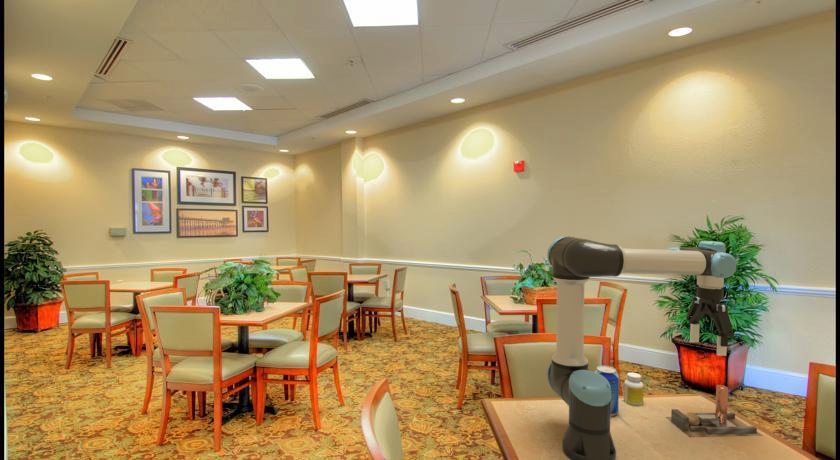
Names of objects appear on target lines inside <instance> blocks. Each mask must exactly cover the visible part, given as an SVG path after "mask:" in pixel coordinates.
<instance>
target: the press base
mask: <svg viewBox="0 0 840 460" xmlns="http://www.w3.org/2000/svg"><path fill="white" fill-rule="evenodd" d="M693 413H694V414H696V415H715V412H693ZM665 419H667V420H668V421H669V422H670V423H672V424H673V425H675V426H676V427H677V428H678V429H679V430H681V432H683V433H684V434H685V435H686V436H688V437H689V438H708V437H709V438H710V437H711V438H714V437H715V438H719V437H761V436H762V437H763V436H764V435H763V434H761V433H760V432H758V428H757V427H756V426H754V425H750V426H749V425H748V424H746V423H745V422H743V421H741V420H740V419H738V418H736V413H734V412H727V420H728V421H729V422H731V423H732V424H734V425H735V426H736V427H713V426H712V425H711V424H701V423H700V422H699V425H698V426H689V418H688V417H687V416H686V415H685V414H684V412H681V411H680V410H679V409H678V408H677V409H673V408H671V416H665Z"/></svg>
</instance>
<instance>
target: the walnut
mask: <svg viewBox="0 0 840 460" xmlns="http://www.w3.org/2000/svg"><path fill="white" fill-rule="evenodd" d="M694 413H695V412H687V413H685V414H684V415H686V416H687V417H688V418H689V426H698V425H699V422H700V421H699V418H698V416H697V415H696V414H694Z"/></svg>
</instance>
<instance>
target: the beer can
mask: <svg viewBox="0 0 840 460" xmlns="http://www.w3.org/2000/svg"><path fill="white" fill-rule="evenodd" d="M593 372H594V373H599V374H600V375H602V376H604V377H605V378H606V379H607V380H608V382H609V383H610V387H611V410H610V418H612V417H614V416H615V417H616V415H617V413H618V412H619V398H620V397H619V394H620V393H619V392H620V375H619V374H618V372H617V369H616V368H614V367H613V366H609V365H598V366H596V369H595V370H594V371H593Z"/></svg>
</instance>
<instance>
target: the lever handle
mask: <svg viewBox="0 0 840 460" xmlns="http://www.w3.org/2000/svg"><path fill="white" fill-rule="evenodd" d="M715 389H716V390H715V410H714V411H715V412H714V413H715V415H697V416H698V418H699V421H700V423H701V424H711V425H712V426H713V427H736V426H735V425H734V424H732V423H731V422H729V421H728V420H727V413H728V404H729V403H728V402H729V401H728V400H729V399H728V398H729V387H728V386H726V385H722V384H716V388H715Z"/></svg>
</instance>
